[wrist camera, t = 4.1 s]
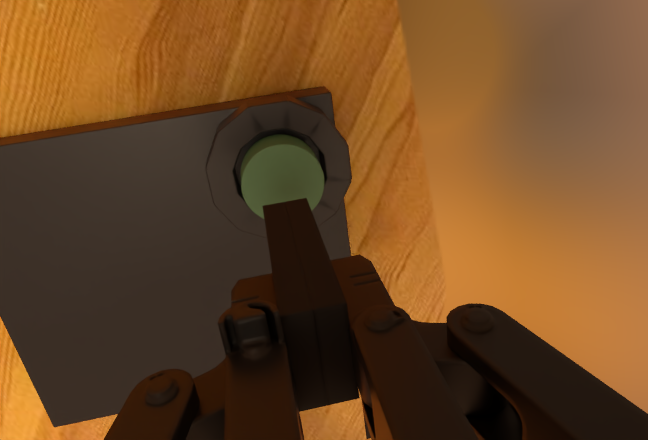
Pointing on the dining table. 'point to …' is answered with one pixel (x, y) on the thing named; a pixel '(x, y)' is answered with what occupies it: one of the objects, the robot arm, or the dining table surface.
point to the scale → (143, 241)
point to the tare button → (280, 173)
